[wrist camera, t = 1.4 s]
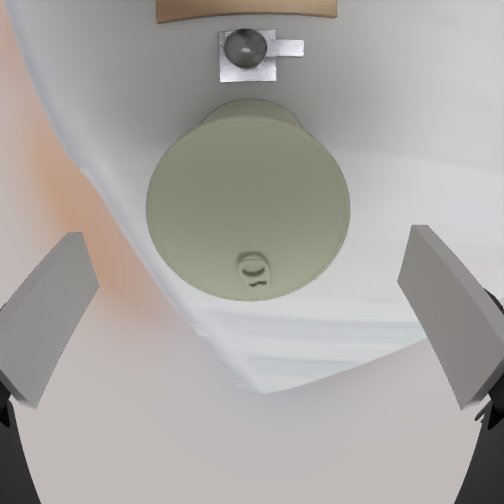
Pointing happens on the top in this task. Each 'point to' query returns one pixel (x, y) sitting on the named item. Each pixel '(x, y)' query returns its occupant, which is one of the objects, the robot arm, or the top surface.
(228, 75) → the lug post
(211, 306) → the top surface
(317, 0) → the tan flat square board
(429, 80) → the top surface
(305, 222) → the can
